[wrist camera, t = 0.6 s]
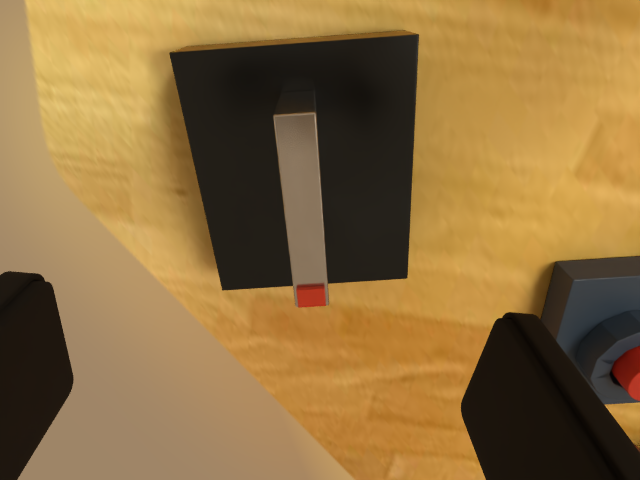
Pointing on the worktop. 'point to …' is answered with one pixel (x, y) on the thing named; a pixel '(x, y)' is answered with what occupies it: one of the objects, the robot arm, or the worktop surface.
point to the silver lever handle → (302, 195)
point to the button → (629, 372)
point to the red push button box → (596, 318)
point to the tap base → (334, 150)
